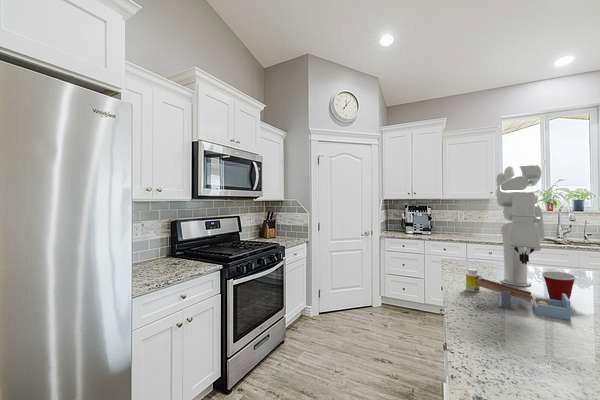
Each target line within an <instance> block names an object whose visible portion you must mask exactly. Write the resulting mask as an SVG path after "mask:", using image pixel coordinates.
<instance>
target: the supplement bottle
mask: <svg viewBox="0 0 600 400" xmlns="http://www.w3.org/2000/svg"><path fill="white" fill-rule="evenodd" d="M479 276H480V274H479V272H478V269H476V268H468V269H467V272H466V274H465V283H466V284H465V286H466V290H467V291H469V292H473V293H478V292H480V291H481V289H480V288H481V287H480V286H477V284H478V279H479Z"/></svg>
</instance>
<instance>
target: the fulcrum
mask: <svg viewBox="0 0 600 400" xmlns="http://www.w3.org/2000/svg"><path fill="white" fill-rule="evenodd" d="M506 285H507V286H509V284H506ZM500 295H501V298H498V309H501V310H507V311H512V310H513V311H515V303H514V300H512V296H511V291H505V290H501V293H500Z"/></svg>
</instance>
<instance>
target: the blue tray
mask: <svg viewBox="0 0 600 400" xmlns="http://www.w3.org/2000/svg"><path fill="white" fill-rule="evenodd" d="M534 298H535V299H534ZM534 298H532V305H531V306H533V307H532V310H534V311H533V314H534V315H535V314H536V316H542V317H548V318H553V319H559V320H564V321H568V322H571V320H572V319H571V299H570V300H569V299H568V297H567V295H566V294H563V293H562V301H559V300H552V299H550V298H543V297H538V296H535V297H534ZM539 301H543V302H545V303H547V304H548V305H543V304H537V303H538V302H539Z"/></svg>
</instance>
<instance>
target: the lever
mask: <svg viewBox="0 0 600 400" xmlns="http://www.w3.org/2000/svg"><path fill="white" fill-rule="evenodd" d="M507 285H508V284H505V283H504V284H503V283H500V282H496V281H493V280H490V279H485V278H483V277H482V275H479V279H478V284H477V286H480V288H484V289H487V290H491V291H493V292H497V293H500V294H501V290H505V291H511V297H513V298H517V299H520V300H524V301H527V302H531V303H532V301H533V295H531V294H532V292H531V291H529V290H526V289H523V288H517V287H513V286H512V285H508V286H507Z"/></svg>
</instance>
